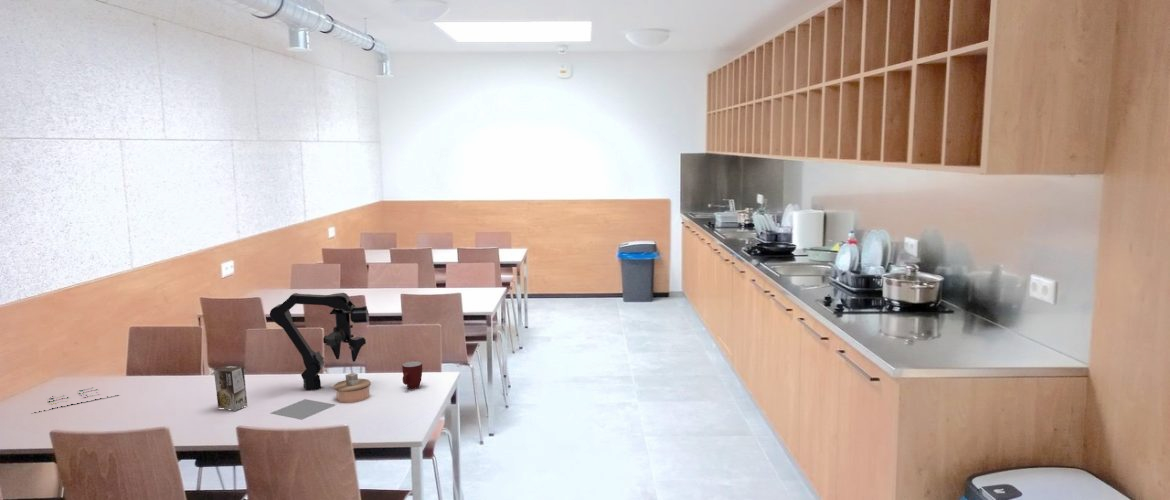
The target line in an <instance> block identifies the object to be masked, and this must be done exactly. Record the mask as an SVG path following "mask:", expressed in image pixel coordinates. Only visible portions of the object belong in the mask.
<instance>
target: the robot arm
mask: <svg viewBox="0 0 1170 500" xmlns="http://www.w3.org/2000/svg"><path fill="white" fill-rule="evenodd" d="M295 305H313V306H315V305H316V306H326V307H329V308H332V309H331V311H330V312H329V315H334V316H335V326H334V327H333V331H332V332H330V333H329V334H328V335H324V337H323V338H322V340H323V341H322V342H323V344H325V346H328V347H329V348H330V349H331V351H332V352H333V354H334V357H335V359H336V360H340V355H341V354H340V353H341V344H342V343H345V344H347V343H348V348H349V349H350V351H351V359H352V362H356V360H357V357H358V355H359V353H360V351H361V349H362V347H363V346H364V345H366V342H367V341H366V338H365V337H361V336H356V337H354V334H352V328H353V326H354V325H353V324H362V323H363V324H364V323H367V324H368V323H369V321H370V313H369V310H368V306H366V305H365V306H356V305H355V304H354V303H353V301H351V299H350V297H349V295H348V294H347V293H345V292H338V293H333V294H332V293H331V294H311V293H310V294H309V293H296V292H295V293H292V294H291V295H290V296H288V298H287V299H286V300H284V301H283V302H282V303H280V304H277V305H276V306H274V307H273V308H271V310H269V317H270V318H271V320H273V323H275V324H277V325H278V326H279V327H281V328H282V329H283V330H284V332H285V333H286V336H288V337H289V340H290V341H291V342H292V344H293V345H294V347H295V348H296V349H297V351H298V352H299V354H300V356H301V357H302V361H303V365H304V367H305V370H304V371H303V372H302V373H301V374H300V376H301V378H302V381H303V389H304V390H305V391H317V390H320V389H324V387H323V386H322V383H321V377H320V375H319V373H320V372H321V370H322V369H323V368H324V366H325V357H323V355H322V354H321V352H320V350H317V351H314V350H313V349H312V348H311V347H310V345H309V344H308V342H307V340H306V339H305V338H304V336H303V335H302V333H301V332H300V330H299V329H298V327H297V326H296V325H295V323H294V322H293V317H292V316H293V315H292V313H291V311H290V310H291V309H292V308H293V307H294V306H295ZM351 322H352V323H353V324H351Z"/></svg>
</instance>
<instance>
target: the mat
mask: <svg viewBox="0 0 1170 500" xmlns="http://www.w3.org/2000/svg"><path fill="white" fill-rule="evenodd" d="M335 406H336V404H335V403H330V402H329V403H328V402H324V401H317V400H311V399H308V398H307V399H306V398H305V399H302V400H300V401H297V402H295V403H292V404H289V405H287V406H284V407H282V408H280V409H277V410H274V411H271V412H269V414H271V415H277V416H280V417H281V416H283V417H286V418H292V419H297V420H304V419H307V418H309V417H311V416H313V415H316V414H319V413H321V412H323V411H325V410H328V409H330V408H333V407H335Z"/></svg>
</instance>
